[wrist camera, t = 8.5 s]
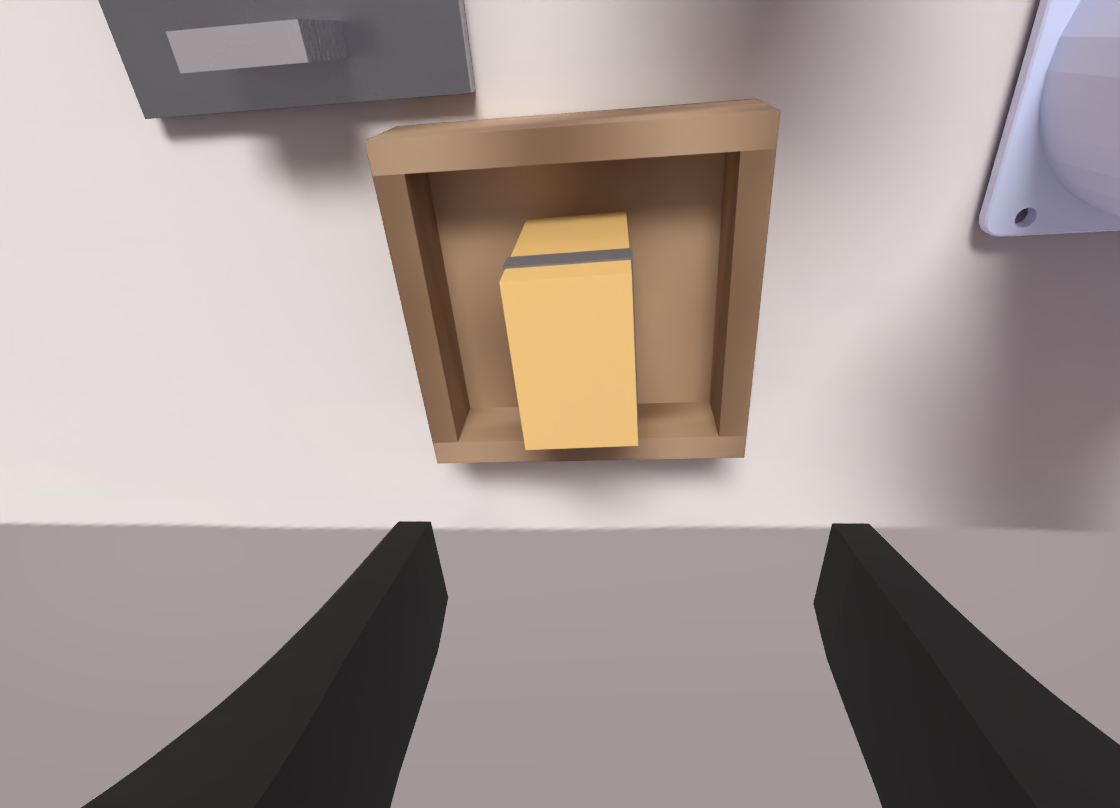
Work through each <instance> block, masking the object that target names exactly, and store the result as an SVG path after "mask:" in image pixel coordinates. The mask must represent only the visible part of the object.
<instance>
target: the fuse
mask: <svg viewBox="0 0 1120 808" xmlns="http://www.w3.org/2000/svg"><path fill="white" fill-rule="evenodd" d="M499 284H500V290H501V296H502V303H503V309H504V316H505V322H506V328H507V335H508V341H509V348H510V354H511V360H512V367H513V373H514V380H515V386H516V392H517V399H518V405H519V412H520V418H521V424H522V431H523V437H524V444H525V450H541V449H567V448H592V447H618V446H638V428H639V419H638V391H637V362H636V334H635V306H634V278H633V255H632V248H629V238H628V227H627V216H626V212H616V213H603V214H591V215H578V216H566V217H554V218H541V219H529V220H526V222H525V224H524V227H523V229H522V231H521V234H520V236H519V238H518V241H517V243H516V245H515V247H514V250H513V252H512V254H511V257H507V258H506V261H505V263H504V265H503V275H502V277H501V280H500V282H499Z"/></svg>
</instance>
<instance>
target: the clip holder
mask: <svg viewBox="0 0 1120 808" xmlns="http://www.w3.org/2000/svg"><path fill="white" fill-rule="evenodd" d="M99 3H100V5H101V8H102V10H103V13H104V16H105V18H106V21H107V23H108V26H109V28H110V31H111V33H112V36H113V38H114V41H115V43H116V46H117V48H118V51H119V54H120V56H121V59H122V61H123V64H124V66H125V69H126V71H127V74H128V76H129V79H130V81H131V84H132V86H133V89H134V92H135V94H136V97H137V99H138V102H139V104H140V107H141V109H142V112H143V114H144V117H145V119H151V118H164V117H176V116H189V115H201V114H214V113H226V112H239V111H251V110H264V109H276V108H289V107H301V106H314V105H326V104H339V103H351V102H364V101H376V100H389V99H401V98H414V97H426V96H439V95H451V94H464V93H472V92H474V91H475V84H474V76H473V69H472V61H471V53H470V46H469V38H468V31H467V23H466V16H465V8H464V1H463V0H99Z"/></svg>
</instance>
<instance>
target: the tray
mask: <svg viewBox="0 0 1120 808" xmlns="http://www.w3.org/2000/svg"><path fill="white" fill-rule="evenodd" d="M779 118H780V110H778V109H776V108H774V107H772V106H770V105H768V104H766V103H764V102H762V101H759V100H757V99H749V100H736V101H722V102H709V103H696V104H683V105H669V106H656V107H643V108H630V109H617V110H603V111H590V112H577V113H564V114H550V115H537V116H524V117H511V118H497V119H484V120H471V121H458V122H444V123H431V124H418V125H405V126H396V127H394V128H392V129H389V130H387V131H385V132H383V133H381V134H378V135H376V136H374V137H372V138H370V139H367V140H365V145H366V150H367V154H368V159H369V163H370V167H371V172H372V176H373V181H374V185H375V189H376V194H377V198H378V203H379V207H380V212H381V216H382V220H383V225H384V229H385V234H386V238H387V243H388V247H389V251H390V256H391V260H392V265H393V269H394V273H395V278H396V282H397V287H398V291H399V296H400V300H401V304H402V309H403V313H404V318H405V322H406V326H407V331H408V335H409V340H410V344H411V349H412V353H413V357H414V362H415V366H416V371H417V375H418V380H419V384H420V388H421V393H422V397H423V402H424V406H425V410H426V415H427V419H428V424H429V428H430V433H431V437H432V441H433V446H434V450H435V455H436V459H437V463H481V462H534V461H587V460H640V459H694V458H744V455H745V445H746V436H747V426H748V416H749V407H750V397H751V387H752V378H753V368H754V359H755V349H756V339H757V330H758V320H759V310H760V301H761V291H762V281H763V272H764V262H765V253H766V243H767V233H768V224H769V214H770V204H771V195H772V185H773V175H774V166H775V156H776V147H777V137H778V127H779ZM616 212H626V216H627V227H628V238H629V248H632V255H633V278H634V306H635V334H636V362H637V391H638V419H639V428H638V446H618V447H592V448H567V449H541V450H525V444H524V437H523V431H522V424H521V418H520V412H519V405H518V399H517V392H516V386H515V380H514V373H513V367H512V360H511V354H510V348H509V341H508V335H507V328H506V322H505V316H504V309H503V303H502V296H501V290H500V284H499V282H500V280H501V277H502V275H503V265H504V263H505V261H506V258H507V257H511V254H512V252H513V250H514V247H515V245H516V243H517V241H518V238H519V236H520V234H521V231H522V229H523V227H524V224H525V222H526V220H529V219H541V218H554V217H566V216H578V215H591V214H603V213H616Z"/></svg>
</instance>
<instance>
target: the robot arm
mask: <svg viewBox="0 0 1120 808" xmlns="http://www.w3.org/2000/svg"><path fill="white" fill-rule="evenodd" d="M1026 208H1028V214H1027V216H1026V217H1025V219H1023V220H1022V221H1021V222H1019V223H1015V218H1016V216H1017V214H1018V213H1019V212H1020V211H1022V210H1023V209H1026ZM979 225H980V227H981V229H982V230H983V231H985V232H986V233H988V234H990V235H991V236H997V237H1006V236H1025V235H1045V234H1064V233H1083V232H1103V231H1120V0H1040V3H1039V7H1038V10H1037V14H1036V18H1035V21H1034V25H1033V28H1032V32H1031V35H1030V39H1029V42H1028V46H1027V49H1026V53H1025V56H1024V60H1023V64H1022V67H1021V71H1020V74H1019V78H1018V81H1017V85H1016V88H1015V92H1014V95H1013V99H1012V102H1011V106H1010V110H1009V113H1008V117H1007V120H1006V124H1005V127H1004V131H1003V134H1002V138H1001V141H1000V145H999V148H998V152H997V155H996V159H995V163H994V166H993V170H992V173H991V177H990V180H989V184H988V187H987V191H986V194H985V198H984V201H983V205H982V209H981V212H980V216H979ZM447 600H448V595H447V591H446V587H445V582H444V578H443V573H442V569H441V564H440V560H439V556H438V551H437V548H436V543H435V539H434V534H433V529H432V525H431V522H398V523H397V524H396V525H395V526H394V527H393V528H392V529H391V530H390V532H389V533H388V534H387V535H386V536H385V537H384V538H383V540H382V541H381V542H380V543H379V544H378V545H377V546H376V548H375V549H374V550H373V551H372V552H371V553H370V554H369V556H368V557H367V558H366V559H365V560H364V561H363V563H361V565H360V566H359V567H358V568H357V569H356V570H355V572H354V573H353V574H352V575H351V576H350V577H349V578H348V579H347V581H345V583H344V584H343V585H342V586H341V587H340V588H339V589H338V590H337V591H336V592H335V593H334V594H333V596H332V597H331V598H330V599H329V600H328V601H327V602H326V603H325V604H324V605H323V606H322V608H320V610H319V611H318V612H317V613H316V614H315V615H314V616H313V617H312V618H311V619H310V620H309V621H308V622H307V623H306V624H305V625H304V626H303V627H302V628H301V629H300V630H299V631H298V632H297V633H296V634H295V635H294V636H293V637H292V638H291V639H290V640H289V641H288V642H287V643H286V644H285V645H284V646H283V647H282V648H281V649H280V650H279V651H278V652H277V653H276V654H275V655H274V656H273V657H272V658H271V659H270V660H269V661H267V662H266V663H265V664H264V665H263V666H262V667H261V668H260V669H259V670H258V671H257V672H256V673H255V674H253V675H252V676H251V677H250V678H249V679H248V680H247V681H246V682H244V683H243V684H242V685H241V686H240V687H239V688H238V689H236V690H235V691H234V692H233V693H232V694H231V695H230V696H228V697H227V698H226V699H225V700H224V701H223V702H222V703H220V704H219V705H218V706H217V707H216V708H214V709H213V710H212V711H211V712H210V713H208V714H207V715H206V716H204V717H203V718H202V719H201V720H200V721H198V722H197V723H196V724H194V725H193V726H192V727H191V728H189V729H188V730H187V731H186V732H184V733H183V734H181V735H180V736H179V737H178V738H176V739H175V740H174V741H172V742H171V743H170V744H169V745H167V746H166V747H165V748H164V749H162V750H161V751H160V752H158V753H157V754H156V755H155V756H153V757H152V758H151V759H149V760H148V761H147V762H145V763H144V764H143V765H141V766H140V767H139V768H137V769H136V770H134V771H133V772H132V773H130V774H129V775H127V776H126V777H125V778H123V779H122V780H121V781H119V782H118V783H116V784H115V785H113V786H112V787H111V788H109V789H108V790H106V791H105V792H103V793H102V794H101V795H99V796H98V797H96V798H95V799H93V800H92V801H90V802H89V803H87V804H86V805H84V806H83V807H81V808H390V806H391V802H392V798H393V795H394V791H395V787H396V784H397V780H398V777H399V773H400V769H401V767H402V763H403V760H404V757H405V754H406V751H407V747H408V744H409V741H410V738H411V735H412V732H413V729H414V726H415V722H416V719H417V716H418V713H419V709H420V706H421V704H422V700H423V697H424V694H425V691H426V688H427V684H428V681H429V678H430V675H431V671H432V668H433V665H434V662H435V658H436V655H437V652H438V648H439V643H440V638H441V632H442V628H443V622H444V617H445V611H446V605H447ZM814 608H815V612H816V616H817V621H818V625H819V629H820V633H821V637H822V641H823V645H824V649H825V653H826V657H827V660H828V663H829V666H830V669H831V671H832V674H833V677H834V680H835V682H836V684H837V687H838V690H839V693H840V696H841V698H842V701H843V703H844V706H845V709H846V712H847V714H848V717H849V719H850V722H851V725H852V727H853V730H854V733H855V735H856V738H857V741H858V743H859V746H860V748H861V751H862V754H863V756H864V759H865V761H866V764H867V767H868V769H869V772H870V775H871V777H872V780H873V783H874V785H875V788H876V791H877V793H878V796H879V799H880V802H881V805H882V808H1120V745H1119V744H1117V743H1116V742H1115V741H1114V740H1112V739H1111V738H1110V737H1108V736H1107V735H1106V734H1104V733H1103V732H1102V731H1101V730H1099V729H1098V728H1097V727H1095V726H1094V725H1093V724H1091V723H1090V722H1089V721H1087V720H1086V719H1085V718H1084V717H1082V716H1081V715H1080V714H1078V713H1077V712H1076V711H1074V710H1073V709H1072V708H1070V707H1069V706H1068V705H1066V704H1065V703H1064V702H1063V701H1062V700H1060V699H1059V698H1058V697H1057V696H1055V695H1054V694H1053V693H1052V692H1050V691H1049V690H1048V689H1047V688H1045V687H1044V686H1043V685H1042V684H1040V683H1039V682H1038V681H1037V680H1036V679H1034V678H1033V677H1032V676H1031V675H1030V674H1029V673H1027V672H1026V671H1025V670H1024V669H1023V668H1022V667H1020V666H1019V665H1018V664H1017V663H1016V662H1015V661H1013V660H1012V659H1011V658H1010V657H1008V655H1006V654H1005V653H1004V652H1003V651H1002V650H1001V649H999V648H998V647H997V646H996V645H995V644H994V643H993V642H992V641H990V640H989V639H988V638H987V637H986V636H985V635H984V634H982V633H981V632H980V631H979V630H978V629H977V628H976V627H975V626H974V625H973V624H972V623H971V622H969V621H968V620H967V619H966V618H965V617H964V616H963V615H962V614H961V613H960V612H959V611H958V610H957V609H956V608H954V607H953V606H952V605H951V604H950V603H949V602H948V601H947V600H946V599H945V598H944V597H943V596H942V595H941V594H940V593H939V592H938V591H936V590H935V589H934V588H933V587H932V586H931V585H930V584H929V583H928V582H927V581H926V580H925V579H924V578H923V577H922V576H921V575H920V574H919V573H918V572H917V571H916V570H915V569H914V568H913V567H912V566H911V565H910V564H909V563H908V562H907V561H906V560H905V559H904V558H903V557H902V556H901V555H900V554H899V553H898V552H897V551H896V550H895V549H894V548H893V547H892V546H891V545H890V544H889V543H888V542H887V541H886V540H885V539H884V538H883V537H882V536H881V535H880V534H879V533H878V532H877V531H876V530H875V529H874V528H873V527H872V526H871V525H870V524H832V527H831V531H830V535H829V540H828V544H827V548H826V553H825V557H824V562H823V565H822V569H821V573H820V578H819V582H818V587H817V590H816V595H815V599H814Z"/></svg>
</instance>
